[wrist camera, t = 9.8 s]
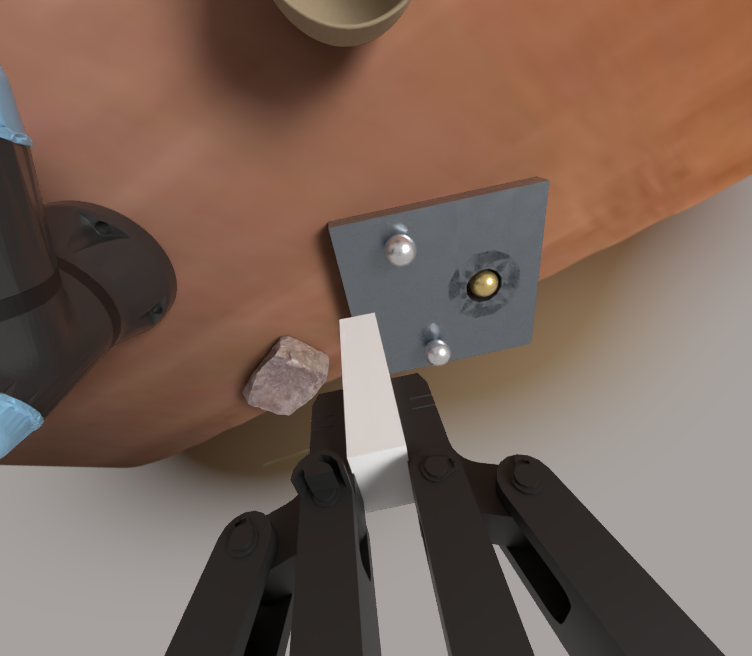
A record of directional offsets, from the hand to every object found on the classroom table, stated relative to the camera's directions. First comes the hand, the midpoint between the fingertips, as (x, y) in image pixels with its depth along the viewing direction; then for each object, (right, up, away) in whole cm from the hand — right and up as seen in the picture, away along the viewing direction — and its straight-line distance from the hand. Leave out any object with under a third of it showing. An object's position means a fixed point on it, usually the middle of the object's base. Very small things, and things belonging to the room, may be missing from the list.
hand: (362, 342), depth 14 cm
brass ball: (+14, +6, +27) cm, 31 cm away
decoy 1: (+3, +9, +21) cm, 23 cm away
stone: (-12, -5, +34) cm, 36 cm away
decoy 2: (+9, -3, +29) cm, 31 cm away
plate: (+9, +6, +28) cm, 30 cm away
